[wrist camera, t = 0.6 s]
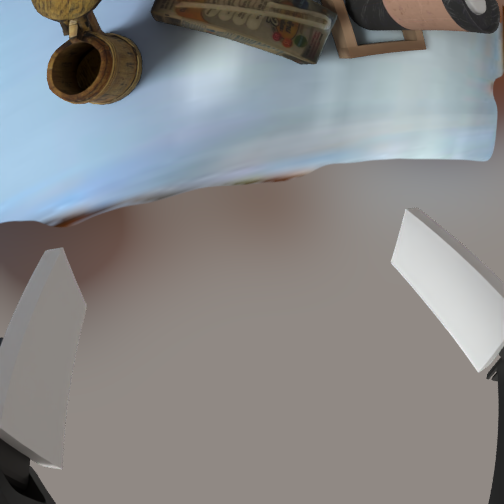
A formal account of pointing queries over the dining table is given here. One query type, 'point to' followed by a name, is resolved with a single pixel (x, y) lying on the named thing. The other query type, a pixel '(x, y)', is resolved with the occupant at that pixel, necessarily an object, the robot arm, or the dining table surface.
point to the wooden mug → (89, 56)
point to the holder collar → (351, 50)
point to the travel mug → (426, 15)
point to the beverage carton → (256, 23)
